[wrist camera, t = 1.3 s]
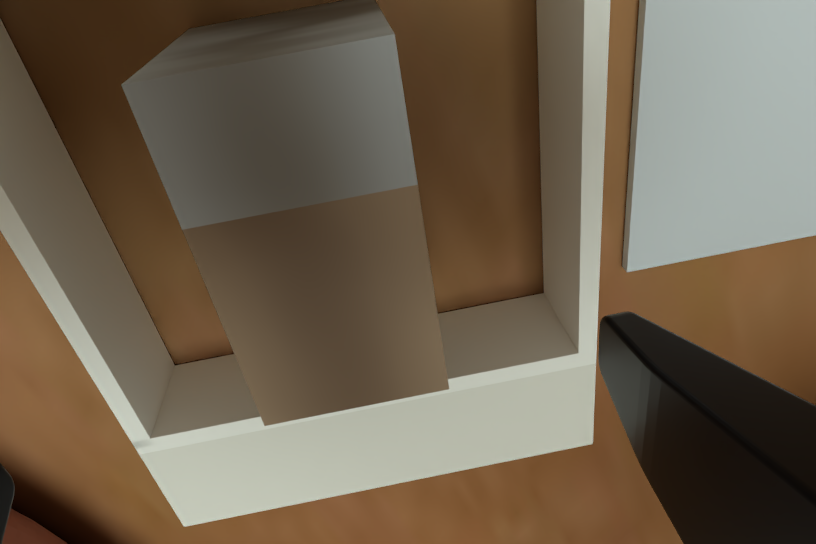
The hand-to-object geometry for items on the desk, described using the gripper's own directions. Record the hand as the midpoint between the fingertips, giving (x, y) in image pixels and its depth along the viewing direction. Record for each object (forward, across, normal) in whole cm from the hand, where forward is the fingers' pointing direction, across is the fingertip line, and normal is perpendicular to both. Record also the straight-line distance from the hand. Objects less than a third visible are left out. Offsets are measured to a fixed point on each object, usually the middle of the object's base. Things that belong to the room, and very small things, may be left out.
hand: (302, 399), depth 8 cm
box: (+11, 0, +1) cm, 11 cm away
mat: (+11, -15, +1) cm, 19 cm away
